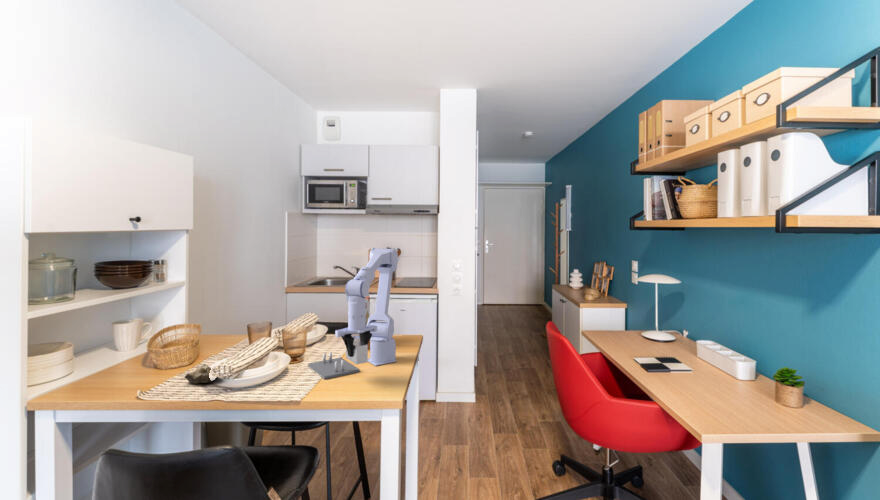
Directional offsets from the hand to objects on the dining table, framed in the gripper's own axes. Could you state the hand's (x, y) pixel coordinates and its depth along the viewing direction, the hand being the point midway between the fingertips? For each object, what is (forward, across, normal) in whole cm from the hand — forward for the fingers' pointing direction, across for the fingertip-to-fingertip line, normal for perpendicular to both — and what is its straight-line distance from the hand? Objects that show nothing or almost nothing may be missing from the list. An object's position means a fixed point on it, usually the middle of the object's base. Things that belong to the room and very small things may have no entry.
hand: (356, 354), depth 138 cm
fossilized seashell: (+9, -42, +27) cm, 51 cm away
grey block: (+2, 0, 0) cm, 2 cm away
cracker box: (+9, +19, +36) cm, 42 cm away
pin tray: (+9, -2, +15) cm, 17 cm away
